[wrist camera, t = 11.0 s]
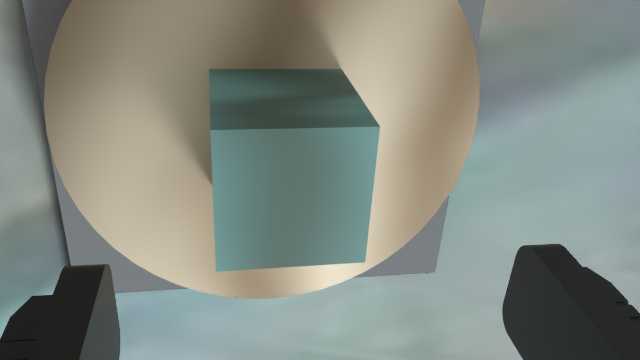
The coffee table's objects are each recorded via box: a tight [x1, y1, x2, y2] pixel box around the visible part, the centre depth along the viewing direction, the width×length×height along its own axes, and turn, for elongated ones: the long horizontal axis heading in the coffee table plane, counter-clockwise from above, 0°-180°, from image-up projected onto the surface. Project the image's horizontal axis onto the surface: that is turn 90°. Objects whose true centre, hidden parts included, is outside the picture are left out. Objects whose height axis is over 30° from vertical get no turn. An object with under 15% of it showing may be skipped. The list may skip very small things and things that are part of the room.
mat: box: [22, 0, 485, 293], centre depth 20 cm, size 14×14×1 cm
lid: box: [44, 0, 480, 299], centre depth 17 cm, size 14×14×6 cm
